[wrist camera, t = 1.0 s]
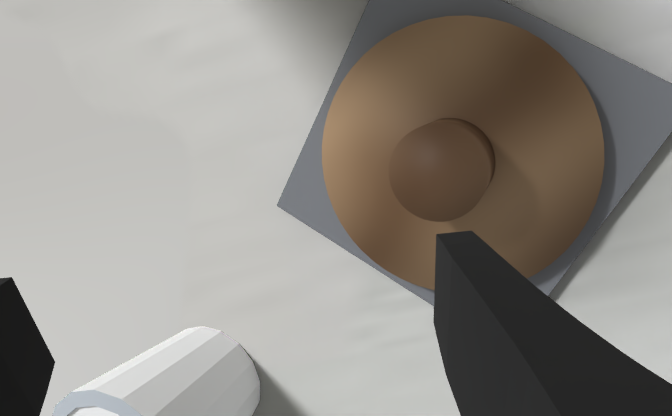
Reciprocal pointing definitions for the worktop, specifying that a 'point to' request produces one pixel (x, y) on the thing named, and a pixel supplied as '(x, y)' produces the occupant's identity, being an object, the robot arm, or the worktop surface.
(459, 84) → the walnut lid
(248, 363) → the white cup
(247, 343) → the worktop surface
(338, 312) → the worktop surface
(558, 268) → the rubber mat
